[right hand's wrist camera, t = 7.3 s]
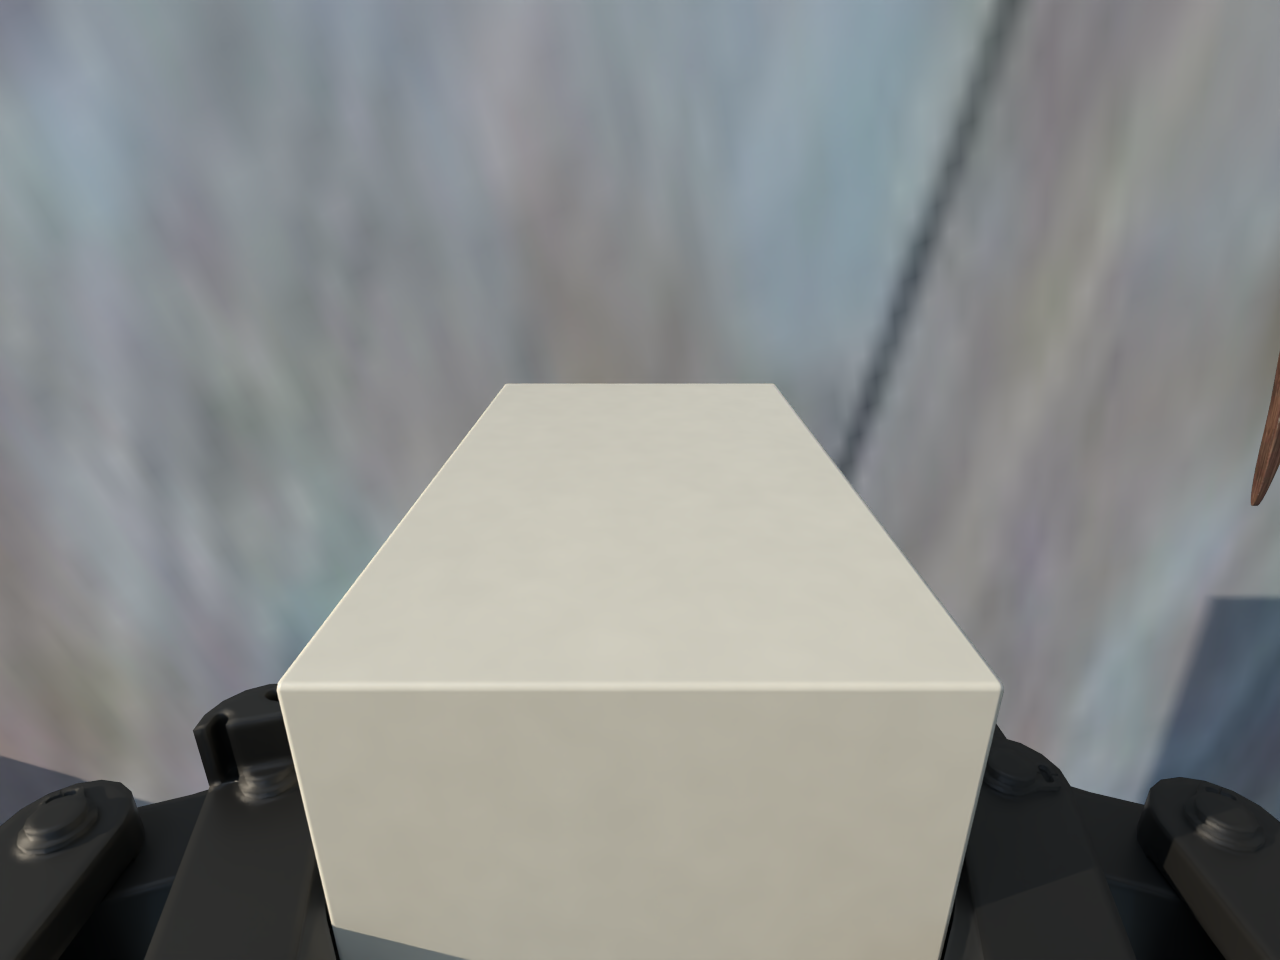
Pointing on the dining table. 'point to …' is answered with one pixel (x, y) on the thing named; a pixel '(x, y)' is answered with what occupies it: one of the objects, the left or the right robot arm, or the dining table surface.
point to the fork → (1268, 446)
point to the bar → (640, 700)
